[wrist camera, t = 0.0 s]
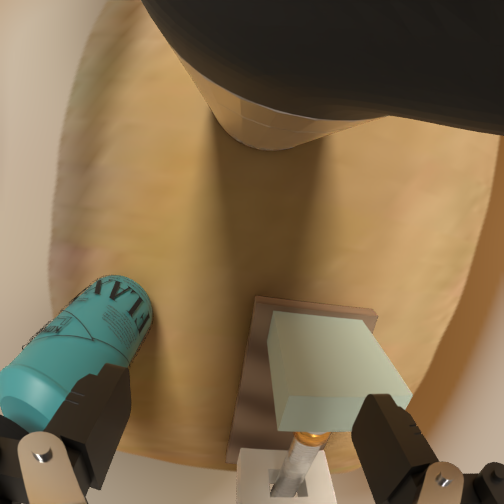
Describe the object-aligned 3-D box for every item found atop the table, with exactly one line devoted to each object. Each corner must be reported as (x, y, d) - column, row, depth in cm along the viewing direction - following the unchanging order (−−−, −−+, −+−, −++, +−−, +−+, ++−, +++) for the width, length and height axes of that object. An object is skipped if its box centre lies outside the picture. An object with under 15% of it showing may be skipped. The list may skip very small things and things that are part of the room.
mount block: (273, 310, 26) (289, 395, 16) (362, 319, 26) (412, 394, 16) (266, 341, 26) (277, 431, 16) (352, 348, 27) (394, 428, 17)
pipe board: (255, 295, 27) (256, 302, 25) (372, 309, 28) (378, 316, 26) (226, 453, 33) (225, 462, 31) (312, 457, 33) (314, 466, 32)
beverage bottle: (174, 304, 27) (88, 507, 8) (130, 343, 28) (41, 517, 9) (121, 250, 26) (-44, 397, 6) (82, 296, 27) (-53, 438, 7)
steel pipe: (310, 363, 21) (317, 388, 19) (347, 365, 21) (358, 389, 19) (264, 490, 26) (265, 511, 23) (290, 490, 26) (293, 511, 23)
